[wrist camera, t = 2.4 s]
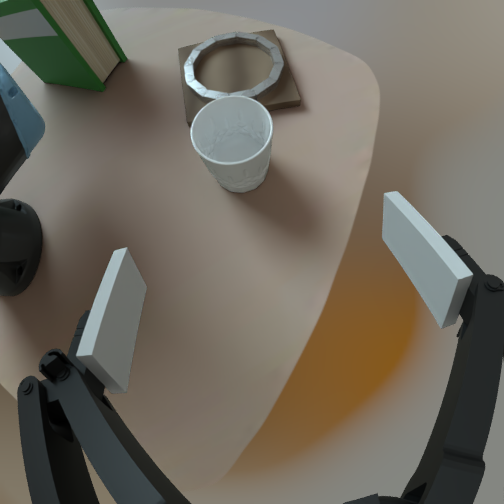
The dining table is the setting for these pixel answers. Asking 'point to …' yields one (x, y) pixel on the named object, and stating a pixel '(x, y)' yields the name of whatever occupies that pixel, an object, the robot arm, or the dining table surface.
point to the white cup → (234, 141)
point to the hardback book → (61, 40)
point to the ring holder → (237, 71)
